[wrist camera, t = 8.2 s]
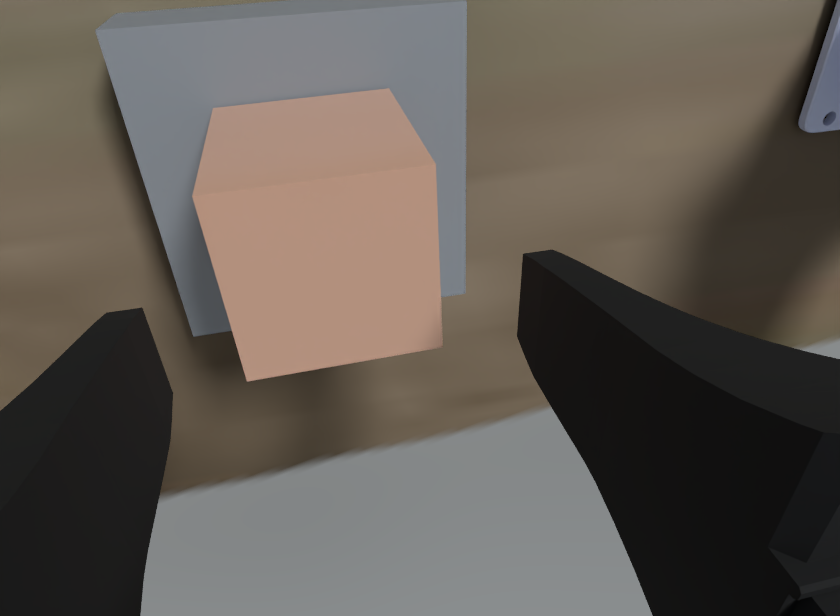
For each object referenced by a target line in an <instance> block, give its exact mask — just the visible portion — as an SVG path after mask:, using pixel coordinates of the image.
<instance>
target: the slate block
mask: <svg viewBox="0 0 840 616" xmlns="http://www.w3.org/2000/svg"><path fill="white" fill-rule="evenodd" d="M95 31H96V34H97V38H98V41H99V44H100V47H101V50H102V53H103V56H104V59H105V62H106V66H107V69H108V72H109V75H110V78H111V81H112V84H113V87H114V91H115V94H116V97H117V100H118V103H119V106H120V109H121V112H122V115H123V119H124V122H125V125H126V128H127V131H128V134H129V137H130V140H131V144H132V147H133V150H134V153H135V156H136V159H137V162H138V165H139V169H140V172H141V175H142V178H143V181H144V184H145V187H146V190H147V193H148V197H149V200H150V203H151V206H152V209H153V212H154V215H155V218H156V222H157V225H158V228H159V231H160V234H161V237H162V240H163V243H164V246H165V250H166V253H167V256H168V259H169V262H170V265H171V268H172V271H173V275H174V278H175V281H176V284H177V287H178V290H179V293H180V296H181V300H182V303H183V306H184V309H185V312H186V315H187V318H188V321H189V324H190V328H191V331H192V334H193V337H195V336H201V335H208V334H214V333H220V332H226V331H232V329H231V326H230V322H229V319H228V316H227V312H226V309H225V306H224V302H223V299H222V295H221V292H220V289H219V285H218V282H217V279H216V275H215V272H214V268H213V265H212V262H211V258H210V255H209V252H208V248H207V245H206V241H205V238H204V235H203V231H202V228H201V225H200V221H199V218H198V214H197V211H196V208H195V204H194V201H193V198H192V195H193V190H194V186H195V182H196V178H197V173H198V169H199V165H200V161H201V156H202V152H203V148H204V144H205V140H206V135H207V131H208V127H209V123H210V118H211V114H212V110H213V108H218V107H227V106H236V105H244V104H253V103H262V102H271V101H280V100H289V99H298V98H307V97H316V96H324V95H333V94H342V93H351V92H360V91H369V90H378V89H387V88H389V89H390V91H391V92H392V94H393V96H394V97H395V99H396V100H397V102H398V104H399V105H400V107H401V109H402V110H403V112H404V113H405V115H406V117H407V118H408V120H409V121H410V123H411V125H412V126H413V128H414V130H415V131H416V133H417V134H418V136H419V138H420V139H421V141H422V142H423V144H424V146H425V147H426V149H427V151H428V152H429V154H430V155H431V157H432V159H433V160H434V162H435V164H436V180H437V207H438V233H439V260H440V287H441V297H446V296H452V295H459V294H465V270H466V52H467V1H466V0H289V1H276V2H262V3H249V4H236V5H222V6H209V7H195V8H182V9H169V10H155V11H142V12H128V13H116V14H115V15H113V16H112V17H111V18H110V19H108V20H107V21H106V22H105V23H103V24H102V25H101V26H100V27H98V28H97V29H96V30H95Z"/></svg>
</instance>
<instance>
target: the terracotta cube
mask: <svg viewBox="0 0 840 616" xmlns="http://www.w3.org/2000/svg"><path fill="white" fill-rule="evenodd" d="M192 198H193V201H194V204H195V208H196V211H197V214H198V218H199V221H200V225H201V228H202V231H203V235H204V238H205V241H206V245H207V248H208V252H209V255H210V258H211V262H212V265H213V268H214V272H215V275H216V279H217V282H218V285H219V289H220V292H221V295H222V299H223V302H224V306H225V309H226V312H227V316H228V319H229V322H230V326H231V329H232V332H233V336H234V339H235V343H236V346H237V349H238V353H239V356H240V359H241V363H242V366H243V370H244V373H245V376H246V380H247V382H248V381H253V380H259V379H265V378H270V377H276V376H282V375H287V374H293V373H299V372H304V371H310V370H316V369H321V368H327V367H333V366H338V365H344V364H350V363H356V362H361V361H367V360H373V359H378V358H384V357H390V356H395V355H401V354H407V353H412V352H418V351H424V350H429V349H435V348H441V347H443V340H442V313H441V287H440V260H439V233H438V207H437V180H436V164H435V162H434V160H433V159H432V157H431V155H430V154H429V152H428V151H427V149H426V147H425V146H424V144H423V142H422V141H421V139H420V138H419V136H418V134H417V133H416V131H415V130H414V128H413V126H412V125H411V123H410V121H409V120H408V118H407V117H406V115H405V113H404V112H403V110H402V109H401V107H400V105H399V104H398V102H397V100H396V99H395V97H394V96H393V94H392V92H391V91H390V89H389V88H387V89H378V90H369V91H360V92H351V93H342V94H333V95H324V96H316V97H307V98H298V99H289V100H280V101H271V102H262V103H253V104H244V105H236V106H227V107H218V108H213V110H212V114H211V118H210V123H209V127H208V131H207V135H206V140H205V144H204V148H203V152H202V156H201V161H200V165H199V169H198V173H197V178H196V182H195V186H194V190H193V195H192Z"/></svg>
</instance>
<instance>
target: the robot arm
mask: <svg viewBox="0 0 840 616" xmlns="http://www.w3.org/2000/svg"><path fill="white" fill-rule="evenodd" d="M827 114H828V115H827ZM826 115H827V117H826V119H825V120H823V119H824V117H825V116H826ZM798 124H799V127H800V128H801V129H802V130H804V131H806V132H808V133H816V132H825V131H833V130H840V0H837V3H836V6H835V9H834V12H833V16H832V19H831V22H830V25H829V28H828V31H827V34H826V37H825V40H824V43H823V46H822V50H821V53H820V56H819V59H818V62H817V65H816V68H815V71H814V74H813V77H812V81H811V84H810V87H809V90H808V93H807V96H806V99H805V102H804V105H803V108H802V112H801V115H800V118H799V123H798ZM517 337H518V340H519V342H520V345H521V348H522V350H523V353H524V355H525V358H526V360H527V362H528V365H529V367H530V369H531V372H532V374H533V376H534V378H535V380H536V381H537V383H538V385H539V387H540V388H541V390H542V392H543V393H544V395H545V397H546V399H547V400H548V402H549V404H550V405H551V407H552V409H553V410H554V412H555V414H556V415H557V417H558V419H559V420H560V422H561V424H562V425H563V427H564V429H565V430H566V432H567V434H568V435H569V437H570V438H571V440H572V442H573V443H574V445H575V447H576V448H577V450H578V452H579V453H580V455H581V457H582V458H583V460H584V462H585V464H586V465H587V467H588V469H589V471H590V473H591V475H592V476H593V478H594V480H595V482H596V484H597V486H598V489H599V491H600V493H601V495H602V497H603V499H604V502H605V504H606V506H607V508H608V510H609V512H610V515H611V517H612V519H613V521H614V523H615V526H616V528H617V530H618V532H619V535H620V537H621V539H622V541H623V544H624V546H625V549H626V551H627V554H628V556H629V558H630V561H631V563H632V565H633V567H634V570H635V572H636V574H637V577H638V580H639V582H640V585H641V587H642V590H643V592H644V595H645V597H646V600H647V602H648V605H649V607H650V610H651V612H652V615H653V616H840V359H836V358H831V357H827V356H822V355H818V354H814V353H810V352H806V351H802V350H798V349H794V348H791V347H787V346H783V345H780V344H776V343H772V342H769V341H765V340H762V339H758V338H755V337H752V336H749V335H745V334H742V333H739V332H736V331H734V330H731V329H728V328H725V327H722V326H719V325H717V324H714V323H711V322H708V321H705V320H703V319H700V318H697V317H695V316H692V315H690V314H687V313H685V312H683V311H680V310H678V309H676V308H673V307H671V306H669V305H667V304H664V303H662V302H660V301H657V300H655V299H653V298H651V297H649V296H647V295H644V294H642V293H640V292H638V291H636V290H634V289H632V288H630V287H628V286H626V285H624V284H622V283H620V282H618V281H616V280H614V279H612V278H610V277H608V276H606V275H604V274H602V273H600V272H598V271H596V270H594V269H592V268H590V267H588V266H587V265H585V264H583V263H581V262H579V261H577V260H575V259H573V258H570V257H568V256H566V255H564V254H562V253H559V252H557V251H554V250H546V251H539V252H532V253H525V254H523V263H522V276H521V290H520V304H519V317H518V331H517ZM172 401H173V392H172V389H171V387H170V384H169V381H168V378H167V375H166V373H165V370H164V367H163V364H162V361H161V359H160V356H159V353H158V350H157V348H156V345H155V342H154V339H153V336H152V334H151V331H150V328H149V325H148V322H147V320H146V317H145V314H144V311H143V308H137V309H130V310H123V311H116V312H109V313H106V314H104V315H103V316H102V317H101V318H100V319H99V320H97V321H96V322H95V323H94V324H93V325H92V326H91V327H90V328H89V329H88V330H87V331H86V332H85V333H84V334H83V335H82V336H81V337H80V338H79V339H77V340H76V341H75V342H74V343H73V344H72V345H71V346H70V347H69V348H68V349H67V350H66V351H65V352H64V353H63V354H62V355H61V356H60V357H59V358H58V359H57V360H56V361H55V362H54V363H53V364H52V365H51V366H50V367H49V368H48V369H46V370H45V371H44V372H43V373H42V374H41V375H40V376H39V377H38V378H37V379H36V380H35V381H34V382H33V383H32V384H31V385H30V386H28V387H27V388H26V389H25V390H24V391H23V392H22V393H20V394H19V395H18V396H17V397H16V398H15V399H14V400H12V401H11V402H10V403H9V404H8V405H7V406H6V407H4V408H3V409H2V410H1V411H0V616H140V612H141V601H142V590H143V579H144V572H145V565H146V559H147V553H148V547H149V543H150V538H151V533H152V528H153V523H154V519H155V514H156V509H157V504H158V500H159V495H160V490H161V485H162V480H163V475H164V470H165V465H166V460H167V455H168V450H169V445H170V438H171V423H172Z"/></svg>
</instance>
